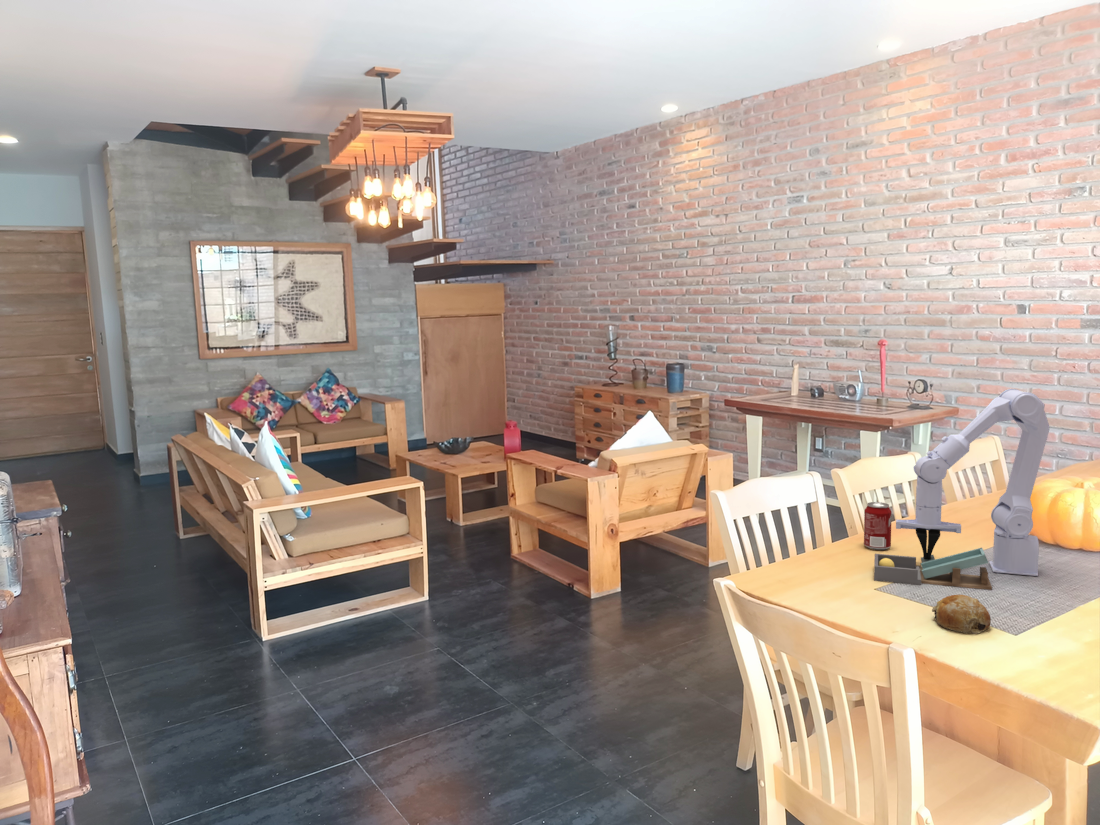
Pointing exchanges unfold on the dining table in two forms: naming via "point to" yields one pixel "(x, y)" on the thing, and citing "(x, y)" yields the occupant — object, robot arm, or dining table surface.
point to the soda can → (877, 526)
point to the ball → (886, 562)
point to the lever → (953, 562)
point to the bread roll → (962, 614)
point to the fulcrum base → (960, 579)
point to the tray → (897, 570)
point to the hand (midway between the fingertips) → (926, 558)
